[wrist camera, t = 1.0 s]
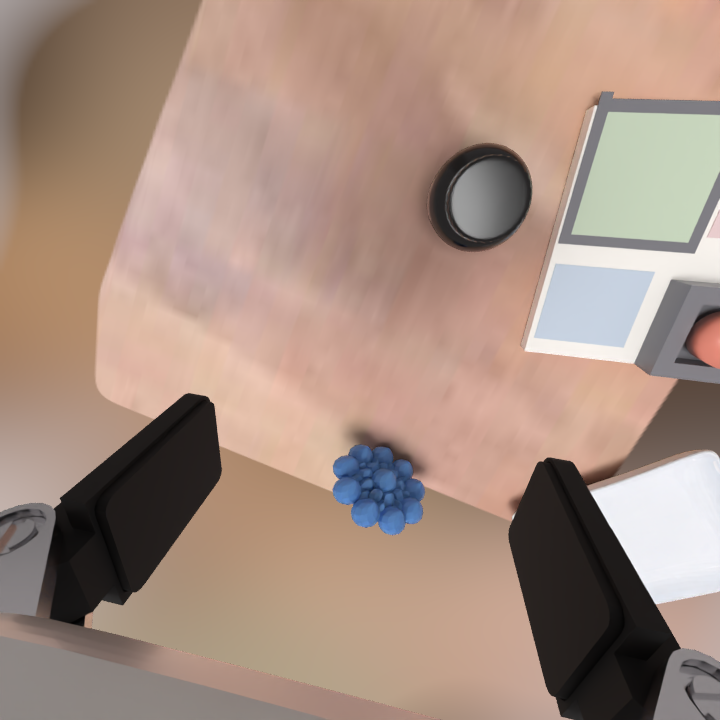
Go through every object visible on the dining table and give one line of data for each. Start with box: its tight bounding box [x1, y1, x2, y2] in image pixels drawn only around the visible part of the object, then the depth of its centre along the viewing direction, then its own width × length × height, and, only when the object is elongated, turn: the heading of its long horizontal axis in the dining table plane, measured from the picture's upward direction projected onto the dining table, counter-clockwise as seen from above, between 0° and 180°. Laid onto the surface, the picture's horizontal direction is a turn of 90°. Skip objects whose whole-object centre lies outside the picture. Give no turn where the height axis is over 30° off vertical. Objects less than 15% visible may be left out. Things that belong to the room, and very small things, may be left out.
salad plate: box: [512, 450, 720, 604], centre depth 41 cm, size 21×21×3 cm
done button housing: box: [634, 279, 720, 384], centre depth 29 cm, size 8×8×2 cm
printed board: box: [521, 92, 720, 364], centre depth 29 cm, size 21×18×2 cm
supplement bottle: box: [427, 143, 532, 252], centre depth 25 cm, size 7×7×12 cm
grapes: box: [333, 444, 425, 535], centre depth 38 cm, size 12×7×12 cm, turn 60°
